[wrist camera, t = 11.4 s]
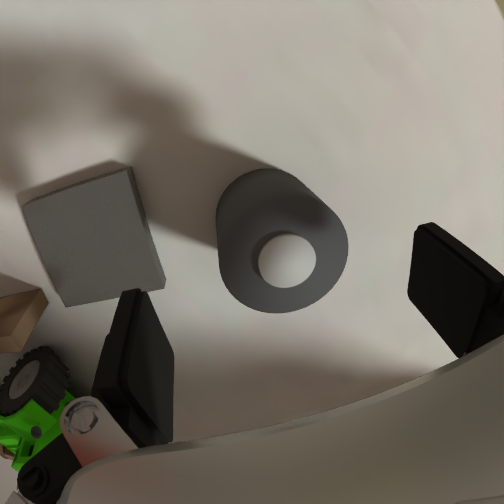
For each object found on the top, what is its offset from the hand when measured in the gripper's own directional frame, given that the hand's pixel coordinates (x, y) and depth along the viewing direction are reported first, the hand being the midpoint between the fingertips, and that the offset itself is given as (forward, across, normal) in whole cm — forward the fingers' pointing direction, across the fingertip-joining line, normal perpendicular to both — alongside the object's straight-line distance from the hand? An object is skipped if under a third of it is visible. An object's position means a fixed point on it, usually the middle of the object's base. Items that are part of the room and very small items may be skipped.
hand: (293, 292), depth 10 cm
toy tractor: (+8, +21, +13) cm, 26 cm away
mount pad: (+8, +10, 0) cm, 13 cm away
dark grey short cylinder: (+8, -1, +1) cm, 8 cm away
